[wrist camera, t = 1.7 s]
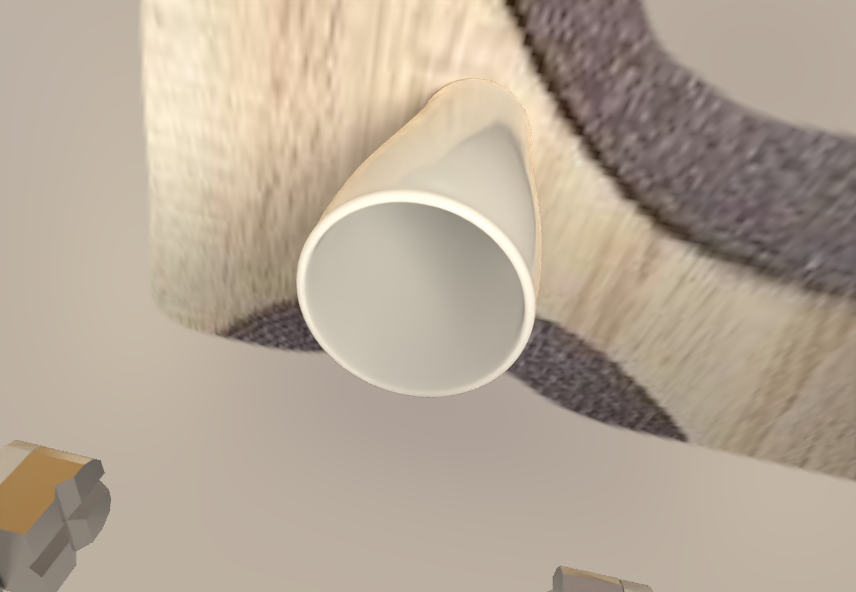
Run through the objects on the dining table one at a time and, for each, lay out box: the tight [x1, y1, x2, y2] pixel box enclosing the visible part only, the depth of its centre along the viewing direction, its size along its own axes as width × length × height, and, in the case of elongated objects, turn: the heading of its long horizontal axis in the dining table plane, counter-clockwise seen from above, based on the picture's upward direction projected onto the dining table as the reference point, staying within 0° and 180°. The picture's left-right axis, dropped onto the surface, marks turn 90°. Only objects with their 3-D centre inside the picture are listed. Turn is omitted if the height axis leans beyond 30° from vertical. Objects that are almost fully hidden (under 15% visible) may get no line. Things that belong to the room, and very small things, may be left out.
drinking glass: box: [296, 79, 542, 397], centre depth 23 cm, size 7×7×15 cm
